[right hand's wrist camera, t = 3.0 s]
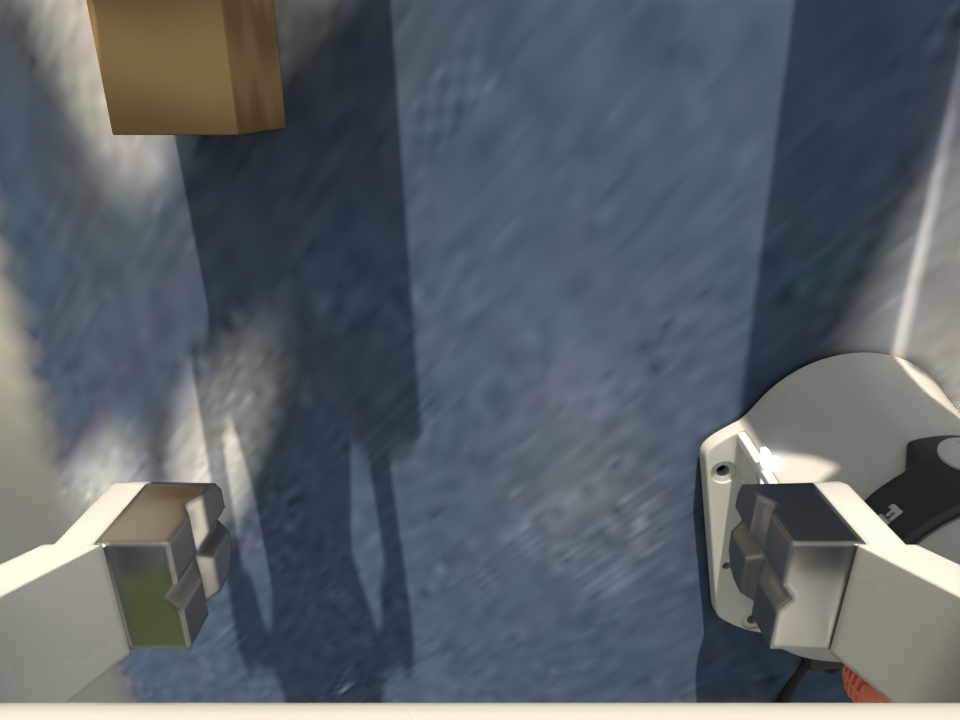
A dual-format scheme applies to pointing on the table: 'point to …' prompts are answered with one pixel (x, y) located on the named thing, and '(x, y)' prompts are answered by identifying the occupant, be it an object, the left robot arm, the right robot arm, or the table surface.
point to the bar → (189, 66)
